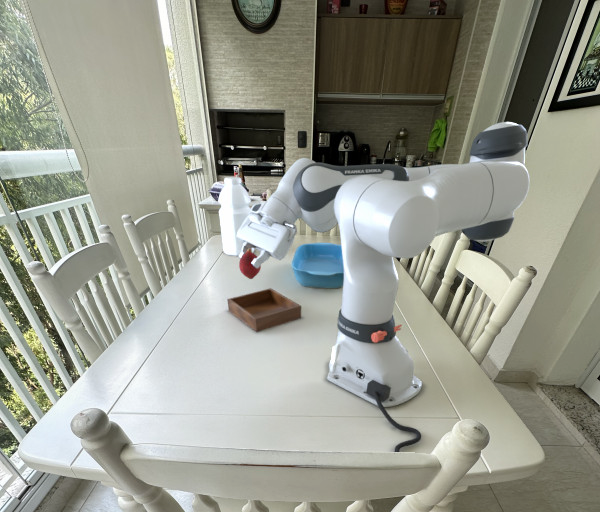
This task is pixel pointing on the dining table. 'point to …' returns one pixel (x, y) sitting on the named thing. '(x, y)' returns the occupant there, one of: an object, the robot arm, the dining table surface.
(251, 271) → the onion
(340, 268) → the casserole dish
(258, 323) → the tray
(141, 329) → the dining table surface
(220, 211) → the bottle
